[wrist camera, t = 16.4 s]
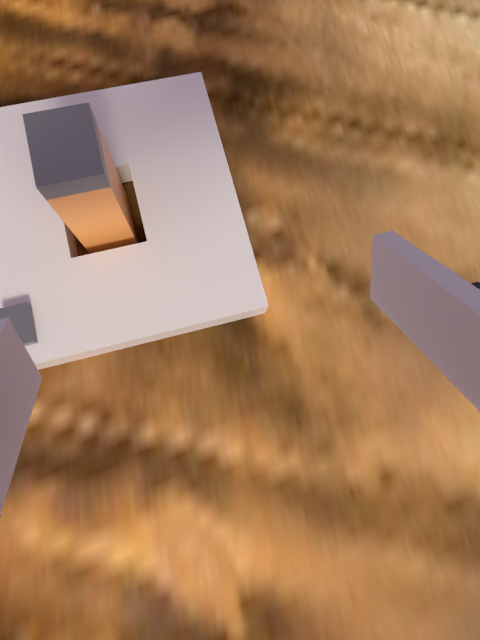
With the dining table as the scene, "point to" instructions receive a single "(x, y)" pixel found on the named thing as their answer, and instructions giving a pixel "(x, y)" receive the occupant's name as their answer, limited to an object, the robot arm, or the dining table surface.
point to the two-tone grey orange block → (79, 176)
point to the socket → (137, 259)
